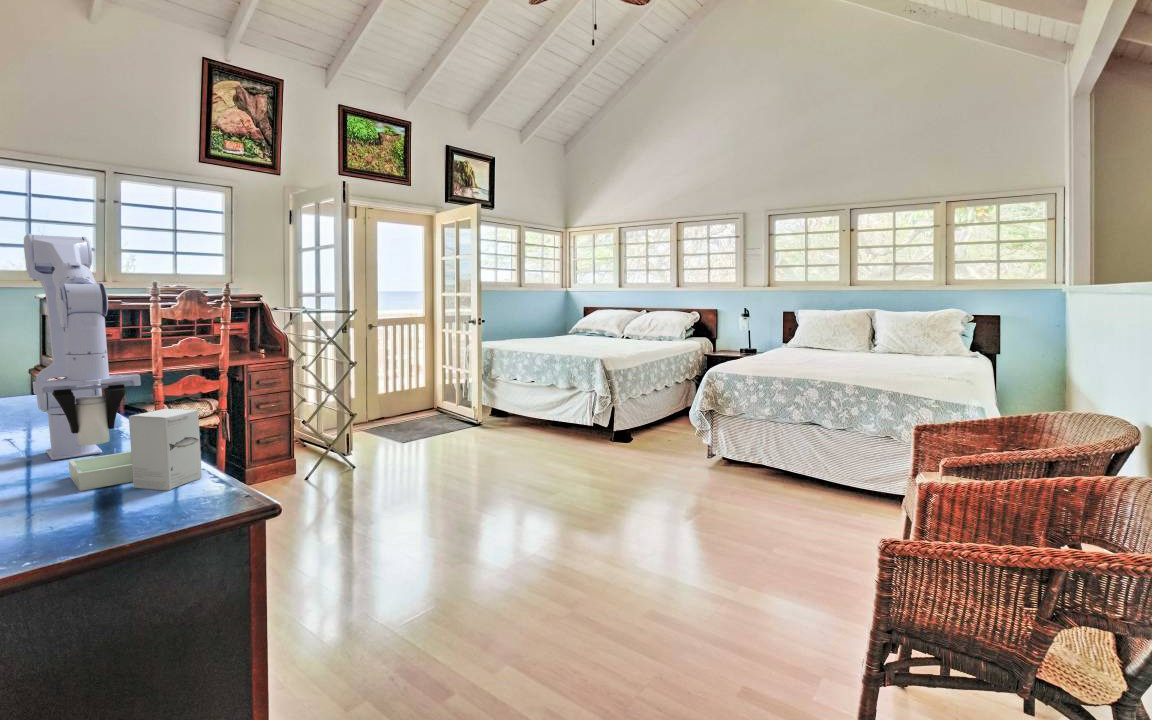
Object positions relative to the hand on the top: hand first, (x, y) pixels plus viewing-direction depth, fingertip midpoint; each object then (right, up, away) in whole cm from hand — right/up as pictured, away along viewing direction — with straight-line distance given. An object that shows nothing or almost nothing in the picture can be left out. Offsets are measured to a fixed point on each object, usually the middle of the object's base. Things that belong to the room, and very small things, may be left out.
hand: (92, 430), depth 107 cm
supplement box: (+14, -9, 0) cm, 17 cm away
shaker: (0, -2, 0) cm, 2 cm away
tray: (+2, -9, +3) cm, 9 cm away
